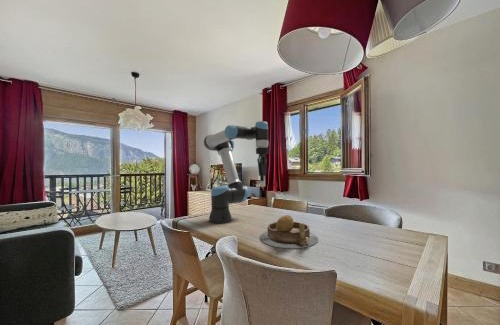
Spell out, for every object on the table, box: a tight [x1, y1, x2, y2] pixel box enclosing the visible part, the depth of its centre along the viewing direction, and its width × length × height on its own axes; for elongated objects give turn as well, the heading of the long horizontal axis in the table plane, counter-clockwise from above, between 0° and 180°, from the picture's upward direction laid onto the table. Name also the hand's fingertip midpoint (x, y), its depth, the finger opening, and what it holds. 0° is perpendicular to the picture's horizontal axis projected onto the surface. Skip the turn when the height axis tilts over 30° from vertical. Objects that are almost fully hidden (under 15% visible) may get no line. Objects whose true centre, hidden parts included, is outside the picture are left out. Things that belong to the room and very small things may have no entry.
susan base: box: [259, 230, 319, 250], centre depth 117 cm, size 29×29×4 cm
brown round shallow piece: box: [267, 221, 311, 245], centre depth 115 cm, size 25×21×9 cm
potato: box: [276, 214, 295, 232], centre depth 112 cm, size 10×14×8 cm
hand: (262, 186), depth 138 cm, fingers closed
